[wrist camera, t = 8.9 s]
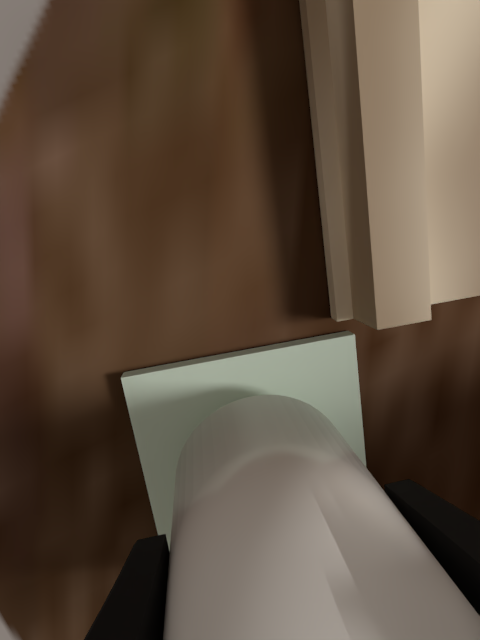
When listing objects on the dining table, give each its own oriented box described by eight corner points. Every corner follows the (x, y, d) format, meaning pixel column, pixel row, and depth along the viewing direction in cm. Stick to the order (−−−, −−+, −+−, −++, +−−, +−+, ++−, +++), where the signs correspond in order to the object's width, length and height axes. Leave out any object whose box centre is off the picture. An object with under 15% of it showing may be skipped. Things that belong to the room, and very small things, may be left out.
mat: (348, 330, 12) (354, 334, 11) (365, 519, 13) (371, 529, 13) (123, 372, 11) (120, 378, 11) (168, 564, 13) (168, 577, 12)
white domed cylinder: (342, 381, 11) (612, 637, 4) (353, 573, 12) (566, 1015, 5) (162, 410, 10) (95, 761, 3) (196, 606, 11) (199, 1139, 5)
